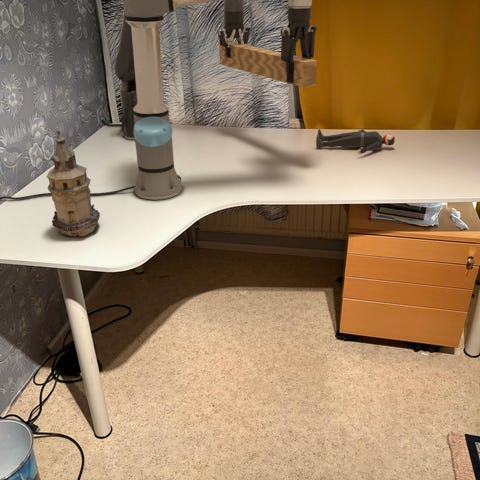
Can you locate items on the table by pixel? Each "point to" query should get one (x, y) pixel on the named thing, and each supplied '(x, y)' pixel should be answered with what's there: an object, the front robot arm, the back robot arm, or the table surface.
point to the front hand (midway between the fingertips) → (296, 81)
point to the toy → (355, 140)
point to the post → (269, 64)
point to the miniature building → (70, 193)
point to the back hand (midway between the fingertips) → (234, 56)
